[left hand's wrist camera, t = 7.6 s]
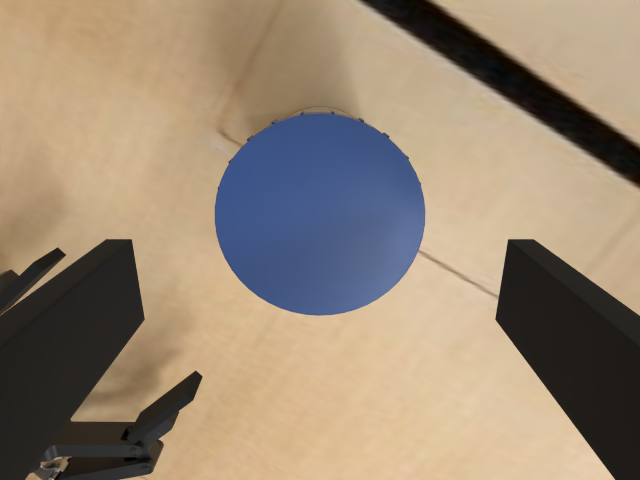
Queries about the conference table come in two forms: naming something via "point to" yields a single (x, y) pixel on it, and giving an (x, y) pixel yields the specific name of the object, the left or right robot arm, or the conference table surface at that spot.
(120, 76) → the conference table surface
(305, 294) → the lid
